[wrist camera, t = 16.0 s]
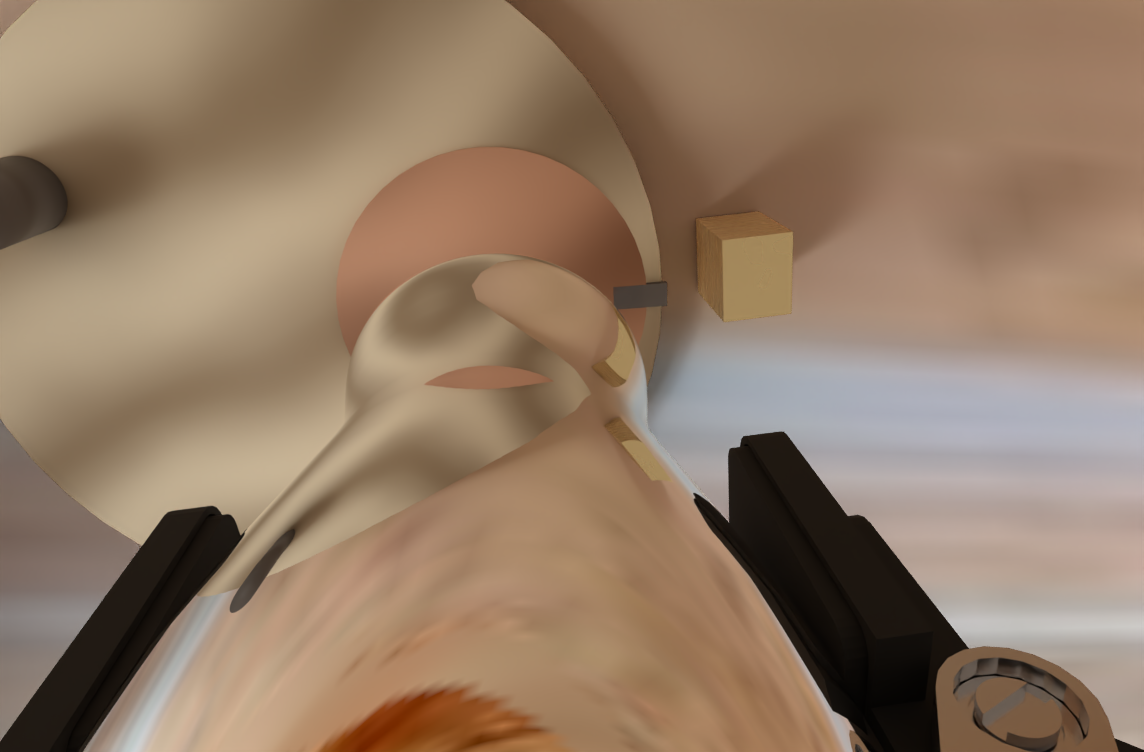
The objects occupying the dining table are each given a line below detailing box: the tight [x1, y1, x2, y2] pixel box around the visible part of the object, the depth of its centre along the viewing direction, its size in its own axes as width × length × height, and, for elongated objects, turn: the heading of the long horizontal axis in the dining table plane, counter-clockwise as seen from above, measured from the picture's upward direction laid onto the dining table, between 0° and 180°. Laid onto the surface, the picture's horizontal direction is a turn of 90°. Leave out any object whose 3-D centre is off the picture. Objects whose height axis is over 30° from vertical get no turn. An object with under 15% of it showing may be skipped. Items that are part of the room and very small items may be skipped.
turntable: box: [0, 0, 667, 545], centre depth 21 cm, size 20×20×5 cm
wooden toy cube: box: [696, 211, 793, 322], centre depth 23 cm, size 2×2×3 cm
